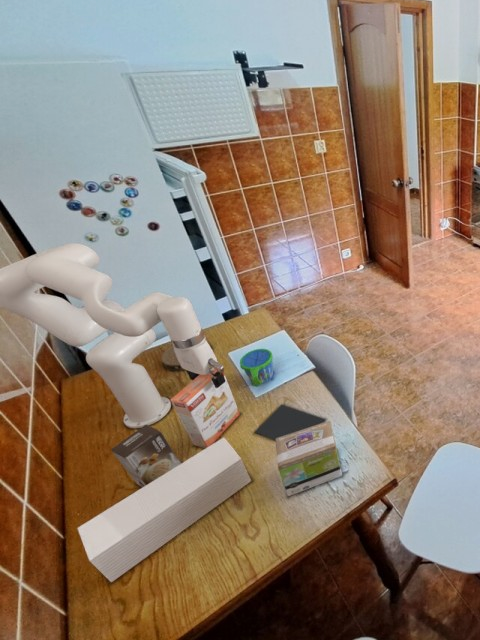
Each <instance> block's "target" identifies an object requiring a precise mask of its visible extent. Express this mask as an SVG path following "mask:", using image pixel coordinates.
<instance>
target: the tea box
mask: <svg viewBox="0 0 480 640" xmlns="http://www.w3.org/2000/svg"><path fill="white" fill-rule="evenodd" d="M333 431H334V430H333V427H332V423H331V420H327V421H324V422H323V423H321V424H318V425H315V426H312V427H309V428H306V429H303V430H300V431H297V432H294V433H291V434H288V435H285V436H282V437H278V438H276V439H275V440H274V441H275V449H276V460H277V461H276V462H277V469H278V472H279V476H280V478H281V481H282V484H283V487H284V490H285V492H286V495H287V496H288V497H290V496H293V495H296V494H298V493H301V492H303V491H306V490H309V489H311V488H313V487H316V486H319V485H322V484H324V483H327V482H330V481H332V480H334V479H337V478H340V477H342V475H343V474H342V468H341V462H340V458H339V453H338V449H337V444H336V439H335V435H334V432H333Z"/></svg>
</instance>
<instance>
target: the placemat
mask: <svg viewBox="0 0 480 640" xmlns="http://www.w3.org/2000/svg"><path fill="white" fill-rule="evenodd" d="M324 422H326V419H325V418H322V417H319V416H317V415H314V414H312V413H308V412H306V411H303V410H302V411H301V410H298V409H296V408H293V407H290V406H287V405H285V404H280V406H278V407H277V409H276V410H274V412H273V413H271V415H269V417H268V418H267V419H266V420H265V421H264V422H263V423H262V424H261V425H260V426H259V427H258V428H257V429H256V430H255V431H254V433H255V434H258V435H261V436H263V437H266V438H269V439H271V440H274V441H276V440H275V439H276V438H278V437H282V436H285V435H288V434H291V433H294V432H297V431H300V430H303V429H306V428H309V427H312V426H315V425H318V424H321V423H324Z"/></svg>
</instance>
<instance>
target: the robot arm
mask: <svg viewBox="0 0 480 640" xmlns="http://www.w3.org/2000/svg"><path fill="white" fill-rule="evenodd" d="M99 264H100V257H99V255H98V253H97V252H96V251H95V250H94V249H92V248H91V247H89V246H87V245H85V244H82V243H79V242H78V243H77V242H69V243H66V244H62V245H59V246H56V247H52V248H48V249H45V250H42V251H40V252H37V253H35V254H32V255H30V256H28V257H25V258H22V259H20V260H18V261H15V262H13V263H10V264H8V265H5V266H3V267H1V268H0V308H1V309H3V310H5V311H7V312H10V313H12V314H15V315H17V316H21V317H23V318H26V319H27V320H29V321H31V322H33V323H35V324H36V325H37V326H39V328H42V329H43V330H45V331H46V332H48V333H49V334H51V335H52V336H54V337H56V338H57V339H59V341H62V342H63V343H65V344H67V345H69V346H71V347H75V348H76V347H77V348H79V347H84V346H86V345H88V344H90V343H92V342H94V340H95V341H96V339H97V338H100V337H101V336H102V335H104V334H106V333H107V332H108V331H111V332H112V333H111V334H108V335H107V336H106V337H104V338H103V339H101V340H100V341H99V342H97V343H96V344H94V345H93V346H92V347H91V348H90V349H89V351H88V352H87V353H86V355H85V361H86V363H87V364H88V366H89V367H90V368H91V369H92V370H94V371H95V372H96V373H97V374H98V376H100V377H101V379H102V380H103V381H104V382H105V384H106V385H107V387H108V388H109V390H110V391H111V392H112V394H113V396H114V397H115V399H116V400H117V402H118V403H119V405H120V406H121V408H122V409H123V411H124V413H125V414H124V416H123V424H124V425H125V426H126V427H127V428H129V429H140V428H142V427H143V426H144V425H148V426H151V425H153V424H156V423H158V422H159V421H160V420H162V419H163V418H164V417H165V416H166V415H167V414H168V413H169V412H170V410H171V407H172V403H171V401H170V400H171V399H169V398H168V397H165V396H161V395H160V393H159V391H158V388H157V387H156V386H155V384H154V382H153V380H152V378H151V376H150V374H149V373H148V371H147V369H146V368H145V366H143V365H142V364H140V363H135V362H133V361H134V360H135V359H136V358H137V357H138V356H139V355H140V354H141V353H143V352H144V351H145V350H147V349H148V348H149V347H150V346H152V345H153V344H154V343H155V341H156V338H157V335H156V333H155V331H154V329H153V328H154V327H155V326H157V325H158V324H159V323H162V326H163V327H164V329H165V331H166V334H167V335H168V337H169V339H170V342H171V343H172V345H173V347H174V351H175V354H176V357H177V359H178V361H179V363H180V365H181V367H182V368H183V369H185V370H186V373H187V375H188V377H189V379H190V380H191V381H193V380H194V379H195V378H196V377H197V376H199V375H206V374H209V375H210V376H211V377H212V382H213V384H214V386H215V388H218V387H220V386H221V385H222V384H223V383H225V381H226V380H225V378H224V376H223V372H224V373H225V371H224V369H225V366H224V365H223V364H221V363H219V362H218V359H217V356H216V355H215V352H214V351H213V348H212V347H211V344H210V343H209V344H208V342H209V341H208V340H207V339H206V335H205V332H204V329H203V328H202V326H201V324H200V320H199V319H198V316H197V314H196V312H195V310H194V307H193V305H192V303H191V301H190V300H189V299H188V298H186V297H183V296H176V297H175V296H172V295H169V294H167V293H163V292H159V291H155V292H151V293H149V294H147V295H145V296H144V297H142V298H140V299H139V300H137V301H136V302H134V303H132V304H131V305H130V306H128V307H126V308H125V307H123V306H122V305H121V304H120V303H118V302H115V301H113V300H110V299H107V297H108V295H109V294H110V292H111V290H112V288H113V279H112V278H111V276H109V275H108V274H107V273H104V272H102V271H99V270H96V269H95V268H97V266H98V265H99ZM45 287H46V288H48V289H51V290H53V291H55V292H58V293H61V294H64V295H66V296H67V297H71V298H74V299H76V300H79V301H81V302H82V303H83V305H82V306H81V307H77V306H75V305H73V304H72V303H70V302H69V301H68V300H66V299H65V298H63V297H60V296H57V295H51V294H47V293H36V291H39V290H40V289H42V288H45ZM206 340H207V341H208V342H207V341H206ZM210 368H211V369H210ZM213 369H216V370H217V372H216V373H215V374H213V373H212V372H211V370H213ZM185 370H184V371H185Z"/></svg>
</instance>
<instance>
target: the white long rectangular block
mask: <svg viewBox="0 0 480 640" xmlns="http://www.w3.org/2000/svg"><path fill="white" fill-rule="evenodd" d="M250 477H251V476H250V475H249V473H248V471H247V468H246V467H245V464H244V461H243V459H242V458H241V456H240V455H239V454H238V453H237V451H236V450H235V449H234V448H233V447H232V445H231V444H230V442H229V441H228V440H227V439H226V438H225V437H222V438H220V439H219V440H216V441H215V442H214V443H213V444H212V445H211V446H209V447H207V448H203V450H201V451H199V452H198V453H196V454H194V455H193V456H191V457H190V458H188V459H186V460H185V461H184V462H183V461H182V462H181V464H180V465H178V466H177V467H175V468H173V469H172V470H170V471H169V472H167V473H165V474H164V475H162V476H161V477H159V478H157V479H156V480H154V481H152V482H151V483H149V484H148V485H146V486H144V487H141V488H139V489H138V490H136V491H135V492H133V493H132V494H130V495H128V496H126V497H125V498H123V499H122V500H120V501H118V502H117V503H115V504H113V505H112V506H110V507H108V508H107V509H106V510H104V511H102V512H101V513H99V514H97V515H96V516H94V517H93V518H91V519H89V520H88V521H86V522H85V523H83V524H81V525H80V526H78V527H77V532H78V534H79V537H80V540H81V542H82V544H83V548H84V550H85V553H86V555H87V559H88V561H89V562H90V563H91V564H92V565H93V566H94V567H95V568H96V569H97V570H98V571H99V572H100V573H101V574H102V575H103V576H104V577H105V578H106V579H107V580H108V581H109V582H110V583H113V582H114V581H116V580H117V579H118V578H120V577H121V576H122V575H124V574H125V573H127V572H129V570H131V569H132V568H134V567H135V566H136V565H138V564H139V563H140V562H142V561H144V560H145V559H146V558H147V557H149V556H150V555H152V554H153V553H154V552H156V551H157V550H159V549H160V548H161V547H162V546H164V545H165V544H166V543H169V541H171V540H172V539H174V538H175V537H176V536H178V535H179V534H181V533H183V532H184V531H185V530H186V529H188V528H189V527H190V526H191V525H193V524H194V523H196V522H197V521H198V520H200V519H201V518H202V517H204V516H205V515H207V514H208V513H210V512H211V511H212V510H214V509H216V507H218V506H219V505H221V504H222V503H223V502H225V500H227V499H229V498H230V497H231V496H233V495H234V494H236V493H237V492H239V491H240V490H241V489H242V488H244V487H245V486H247V485H248V484H249V483H251V482H252V479H251V478H250Z"/></svg>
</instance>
